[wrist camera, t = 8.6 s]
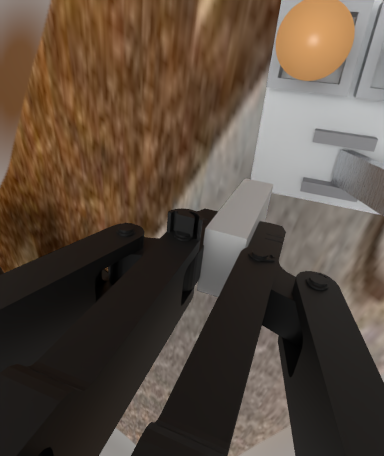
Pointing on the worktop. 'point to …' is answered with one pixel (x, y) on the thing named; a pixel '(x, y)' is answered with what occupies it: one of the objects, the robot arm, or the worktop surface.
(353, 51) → the panel
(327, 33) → the plunger orange
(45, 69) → the worktop surface
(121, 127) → the worktop surface
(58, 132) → the worktop surface
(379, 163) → the lever
